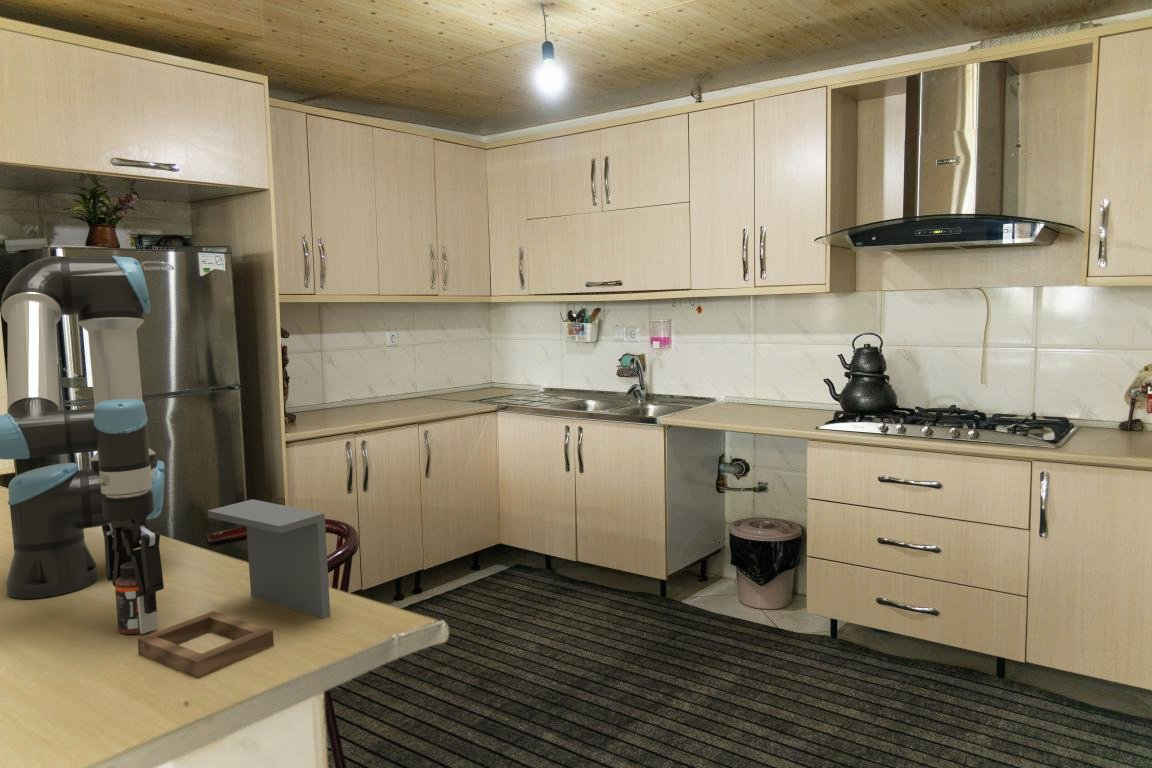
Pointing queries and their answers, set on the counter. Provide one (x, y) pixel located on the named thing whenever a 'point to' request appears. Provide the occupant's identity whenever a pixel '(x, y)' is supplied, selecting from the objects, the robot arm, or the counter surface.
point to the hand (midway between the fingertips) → (138, 626)
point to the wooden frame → (196, 664)
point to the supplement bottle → (127, 600)
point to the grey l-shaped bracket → (284, 554)
